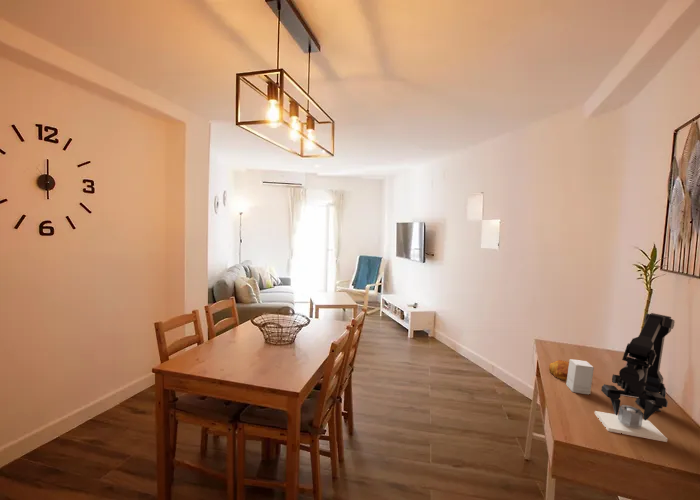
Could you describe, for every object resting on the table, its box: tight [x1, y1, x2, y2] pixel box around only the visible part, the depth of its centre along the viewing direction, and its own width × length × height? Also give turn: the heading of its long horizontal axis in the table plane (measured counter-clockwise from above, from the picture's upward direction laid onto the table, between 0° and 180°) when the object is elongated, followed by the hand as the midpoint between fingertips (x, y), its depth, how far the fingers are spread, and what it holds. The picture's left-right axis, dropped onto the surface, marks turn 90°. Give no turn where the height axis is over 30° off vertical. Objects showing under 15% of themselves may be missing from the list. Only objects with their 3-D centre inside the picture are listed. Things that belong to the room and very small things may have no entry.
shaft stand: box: [594, 408, 668, 443], centre depth 132 cm, size 18×12×7 cm, turn 76°
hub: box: [617, 404, 644, 428], centre depth 132 cm, size 6×6×5 cm
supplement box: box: [565, 358, 595, 395], centre depth 160 cm, size 7×7×13 cm
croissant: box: [548, 359, 569, 382], centre depth 174 cm, size 14×16×8 cm
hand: (630, 417), depth 132 cm, fingers open, 9 cm apart
